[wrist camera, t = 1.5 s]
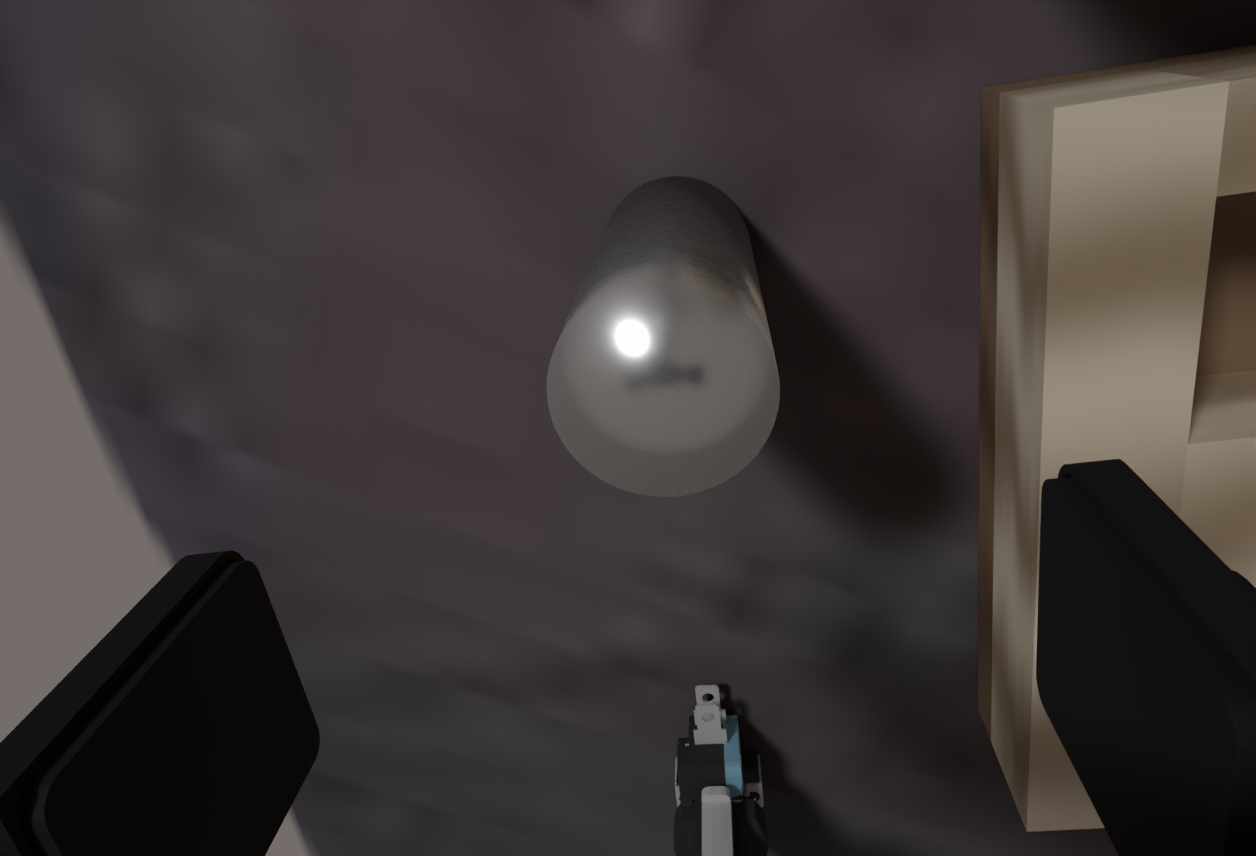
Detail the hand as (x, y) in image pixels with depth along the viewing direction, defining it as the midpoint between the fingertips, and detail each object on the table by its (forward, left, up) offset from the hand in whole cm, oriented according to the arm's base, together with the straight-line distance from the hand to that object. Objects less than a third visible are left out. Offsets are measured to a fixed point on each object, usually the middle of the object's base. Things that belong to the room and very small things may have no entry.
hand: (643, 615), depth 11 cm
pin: (-1, 0, -15) cm, 15 cm away
